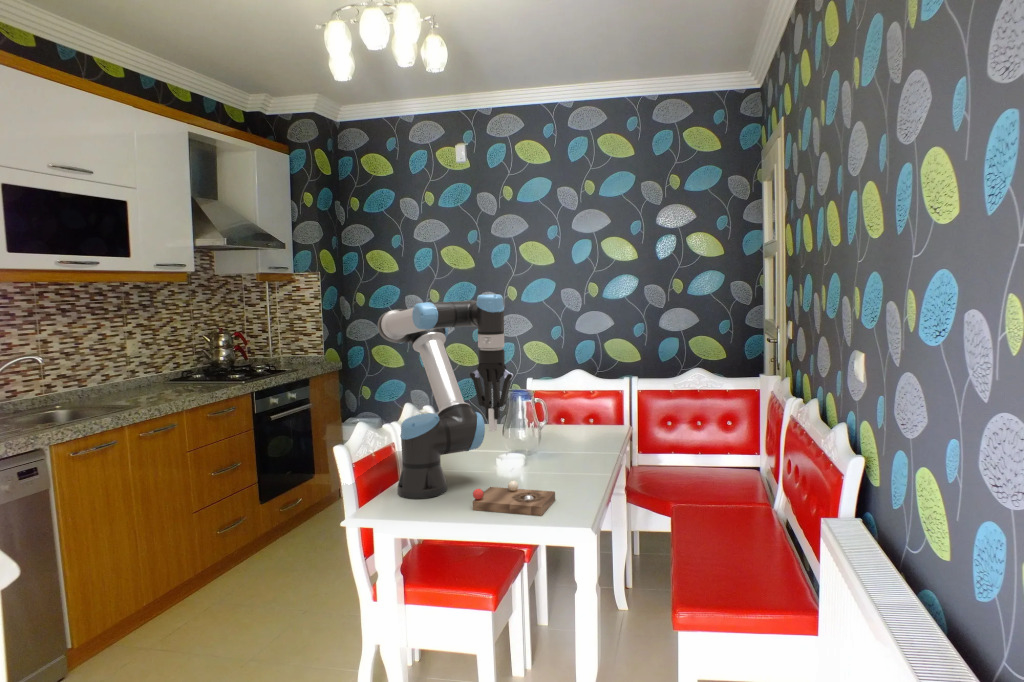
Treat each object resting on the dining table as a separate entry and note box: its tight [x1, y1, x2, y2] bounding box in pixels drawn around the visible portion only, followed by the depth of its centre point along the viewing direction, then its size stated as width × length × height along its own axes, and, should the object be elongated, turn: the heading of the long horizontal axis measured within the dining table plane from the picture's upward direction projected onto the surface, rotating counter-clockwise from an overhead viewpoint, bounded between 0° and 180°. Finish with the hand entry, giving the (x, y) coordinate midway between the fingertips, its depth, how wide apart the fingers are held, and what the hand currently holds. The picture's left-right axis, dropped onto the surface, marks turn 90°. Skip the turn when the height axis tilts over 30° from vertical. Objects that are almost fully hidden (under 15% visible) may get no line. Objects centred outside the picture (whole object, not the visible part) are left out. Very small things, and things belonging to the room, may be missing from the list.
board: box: [472, 486, 556, 517], centre depth 191 cm, size 20×14×2 cm
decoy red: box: [472, 488, 484, 500], centre depth 189 cm, size 3×3×3 cm
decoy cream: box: [507, 480, 519, 491], centre depth 196 cm, size 3×3×3 cm
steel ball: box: [523, 495, 534, 500], centre depth 190 cm, size 3×3×3 cm
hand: (493, 430), depth 194 cm, fingers closed
